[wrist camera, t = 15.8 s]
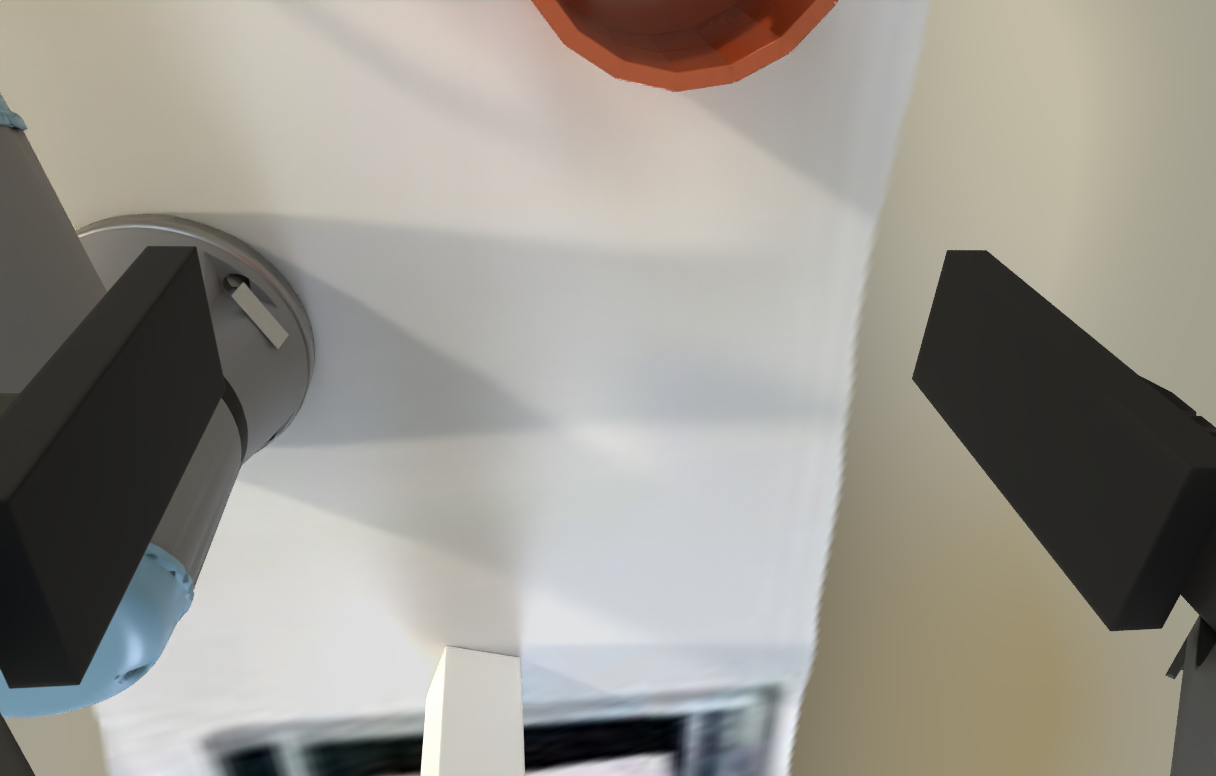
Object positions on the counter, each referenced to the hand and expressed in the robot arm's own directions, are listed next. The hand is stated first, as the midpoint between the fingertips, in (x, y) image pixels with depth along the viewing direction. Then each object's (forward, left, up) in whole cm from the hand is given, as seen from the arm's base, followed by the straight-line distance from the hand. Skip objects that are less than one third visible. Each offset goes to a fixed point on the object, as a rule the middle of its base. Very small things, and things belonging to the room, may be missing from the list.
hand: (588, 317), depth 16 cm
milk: (-4, -48, -33) cm, 58 cm away
